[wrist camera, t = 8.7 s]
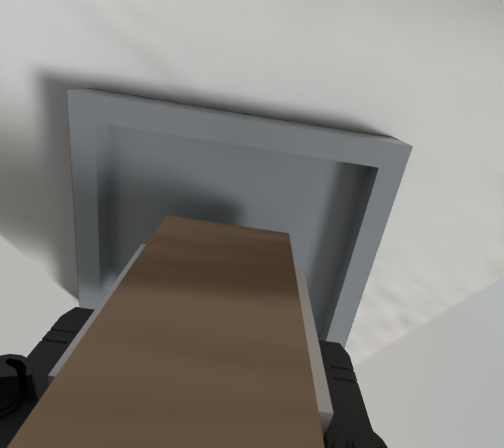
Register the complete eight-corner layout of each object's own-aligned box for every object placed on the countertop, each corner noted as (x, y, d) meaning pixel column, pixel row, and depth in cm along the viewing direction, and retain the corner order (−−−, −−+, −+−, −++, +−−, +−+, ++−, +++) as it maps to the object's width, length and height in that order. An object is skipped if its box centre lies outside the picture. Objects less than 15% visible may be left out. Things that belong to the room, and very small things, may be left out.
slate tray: (89, 88, 14) (66, 89, 13) (395, 137, 15) (412, 146, 13) (97, 333, 19) (82, 357, 18) (324, 364, 20) (329, 390, 18)
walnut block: (166, 214, 14) (-23, 489, 5) (288, 233, 14) (338, 533, 5) (160, 314, 16) (20, 644, 7) (268, 329, 16) (275, 671, 7)
